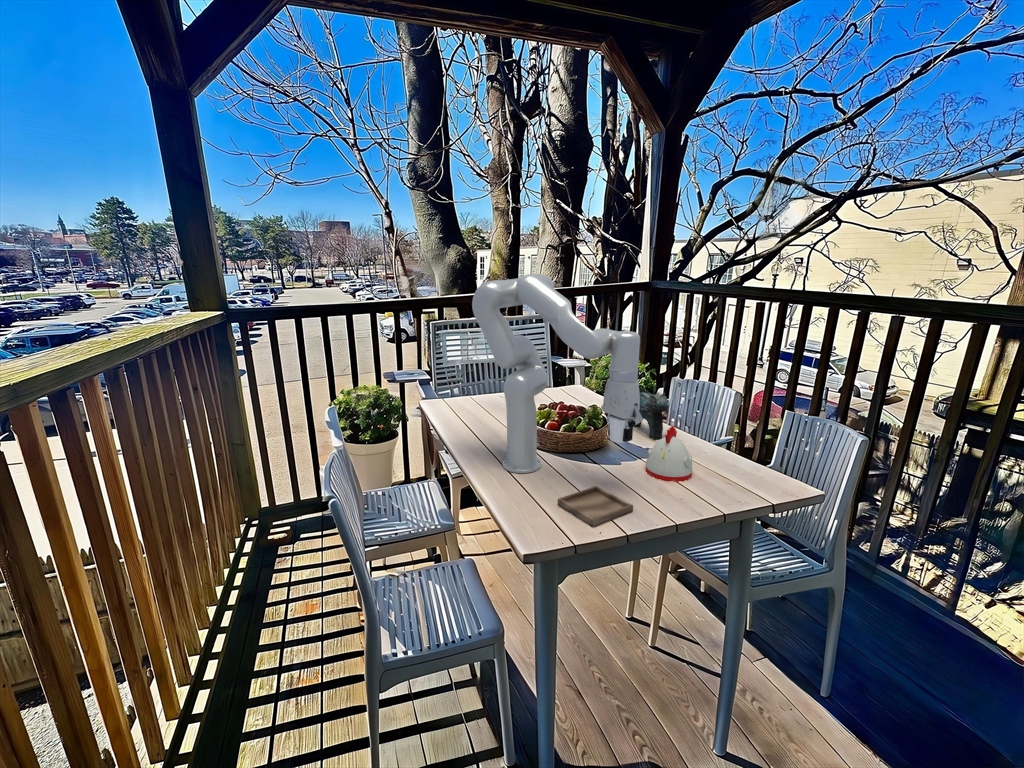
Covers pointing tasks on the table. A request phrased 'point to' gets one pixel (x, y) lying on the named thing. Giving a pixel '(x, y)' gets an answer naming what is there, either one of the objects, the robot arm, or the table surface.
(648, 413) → the dark green animal figurine
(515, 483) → the table surface
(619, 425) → the shot glass
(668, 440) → the kitchen timer
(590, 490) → the walnut tray
